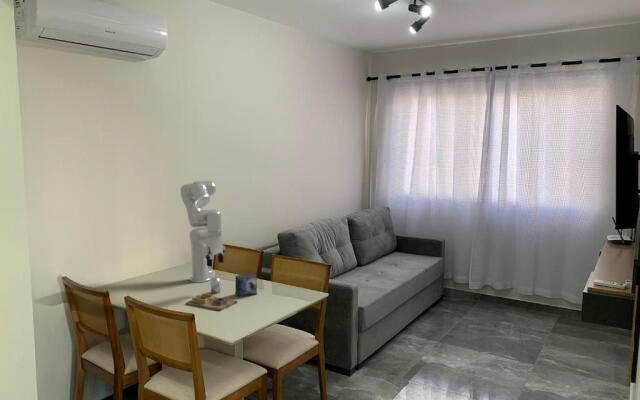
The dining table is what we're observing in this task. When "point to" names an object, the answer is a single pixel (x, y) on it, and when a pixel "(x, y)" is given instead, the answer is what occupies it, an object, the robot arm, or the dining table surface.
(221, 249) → the robot arm
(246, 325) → the dining table surface
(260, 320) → the dining table surface
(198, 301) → the fitting board
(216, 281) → the pipe fitting
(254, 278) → the small box
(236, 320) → the dining table surface
